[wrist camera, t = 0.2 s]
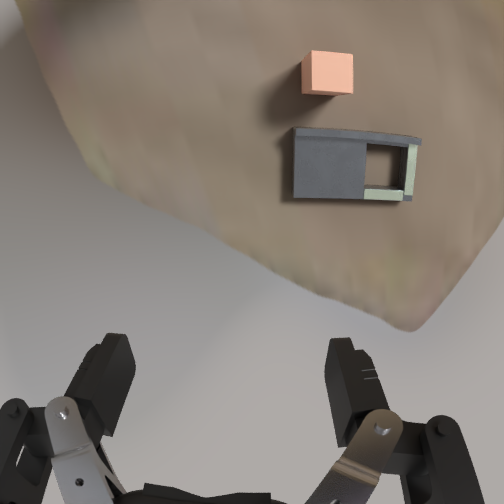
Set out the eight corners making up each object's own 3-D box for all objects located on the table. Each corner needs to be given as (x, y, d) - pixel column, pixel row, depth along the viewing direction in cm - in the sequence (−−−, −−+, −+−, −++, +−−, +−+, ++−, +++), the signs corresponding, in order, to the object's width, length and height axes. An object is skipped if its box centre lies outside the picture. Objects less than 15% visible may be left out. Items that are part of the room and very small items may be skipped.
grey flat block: (292, 126, 35) (296, 128, 32) (410, 136, 34) (421, 138, 32) (291, 193, 38) (294, 199, 35) (405, 196, 38) (414, 203, 35)
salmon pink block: (301, 61, 31) (311, 50, 25) (335, 63, 31) (352, 54, 25) (301, 93, 33) (312, 90, 27) (335, 95, 33) (353, 93, 26)
